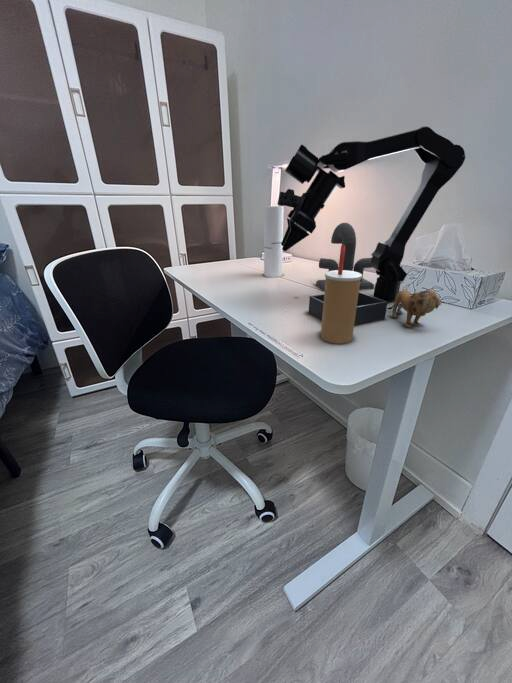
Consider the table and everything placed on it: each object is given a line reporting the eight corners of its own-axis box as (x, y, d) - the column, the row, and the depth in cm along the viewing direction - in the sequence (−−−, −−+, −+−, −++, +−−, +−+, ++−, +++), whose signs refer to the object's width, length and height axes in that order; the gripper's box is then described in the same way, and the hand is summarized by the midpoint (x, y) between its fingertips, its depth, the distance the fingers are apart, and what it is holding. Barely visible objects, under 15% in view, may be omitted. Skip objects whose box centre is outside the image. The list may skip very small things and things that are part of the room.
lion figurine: (438, 331, 64) (449, 291, 60) (417, 334, 63) (427, 293, 59) (395, 310, 77) (402, 276, 73) (377, 311, 76) (383, 277, 72)
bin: (351, 305, 81) (353, 289, 79) (384, 319, 71) (388, 301, 69) (308, 312, 76) (309, 296, 74) (337, 329, 66) (339, 310, 64)
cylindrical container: (282, 277, 113) (284, 206, 102) (264, 277, 113) (264, 206, 102) (281, 272, 120) (282, 206, 109) (264, 273, 120) (263, 206, 109)
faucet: (354, 277, 111) (361, 220, 102) (375, 288, 96) (385, 223, 88) (308, 279, 109) (312, 222, 100) (322, 291, 94) (328, 225, 86)
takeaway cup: (339, 328, 67) (349, 241, 58) (360, 340, 61) (375, 245, 52) (313, 333, 64) (320, 243, 56) (332, 346, 58) (343, 248, 50)
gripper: (289, 178, 82) (259, 228, 88) (294, 173, 65) (257, 235, 71) (320, 202, 84) (290, 249, 90) (333, 202, 67) (294, 259, 74)
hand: (282, 247), depth 81 cm, fingers open, 9 cm apart
